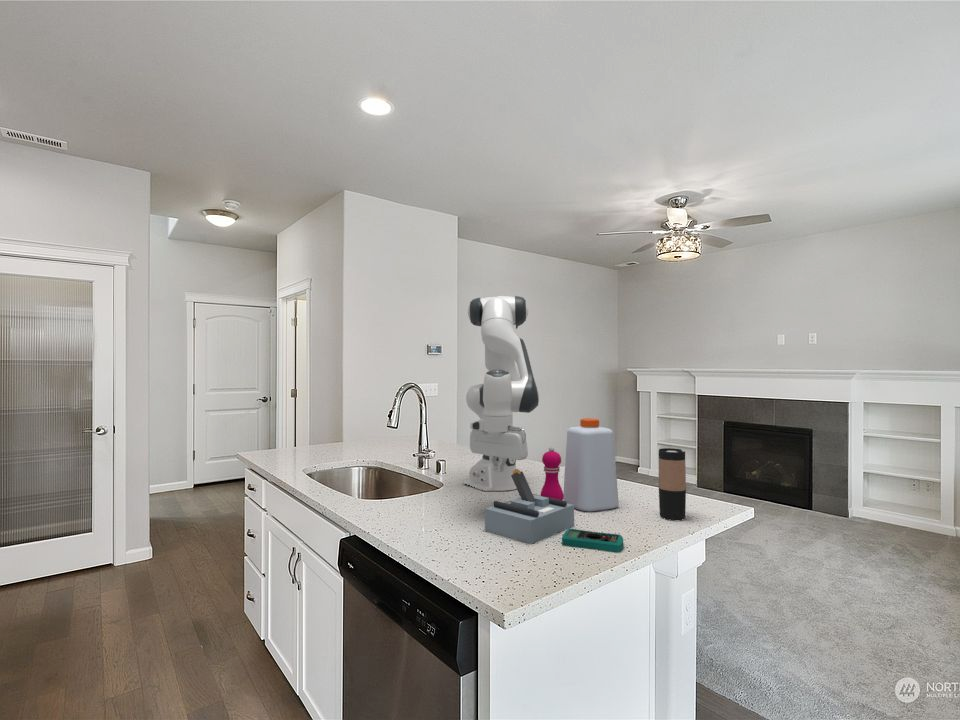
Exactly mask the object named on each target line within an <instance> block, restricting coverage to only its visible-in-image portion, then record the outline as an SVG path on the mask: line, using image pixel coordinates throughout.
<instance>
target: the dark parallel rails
mask: <svg viewBox="0 0 960 720" xmlns="http://www.w3.org/2000/svg"><path fill="white" fill-rule="evenodd" d="M532 494H533V495H537V496H541V494H540V495H539V494H534V493H532ZM542 497H544V496H542ZM547 498H549V497H547ZM549 503H550V504H554V505H559V506H563V507H565V506H566V505H567V502H566V501H564V500H559V499H554V498H549ZM492 506H495V507H498V508H502V509H506V510H510V511H514V512H518V513H522V514H526V515H530V516H534V517H538V516H539V512H538V511H536V510H532V509H528V508H524V507H520V506H515V505H511V504H507V503H505V502H502V501H497V500H494V501H493V503H492Z"/></svg>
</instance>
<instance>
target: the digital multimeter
mask: <svg viewBox="0 0 960 720" xmlns="http://www.w3.org/2000/svg"><path fill="white" fill-rule="evenodd" d="M561 537H562V538H561V545H562V546H563V547H564V546H566V547H573V548H574V547H575V548H581V549H582V548H583V549H589V550H590V549H591V550H596V549H597V551H603V550H604V551H603V552H610V551H611V552H610V553H617V552H619V553H620V552H622V550H624V537H623V536H622V535H621V534H617V533H610V532H609V533H607V532H601V531H599V532H597V531H592V530H591V531H590V530H583V529H578V528H577V529H574V528H568V529H566V530H565V532H564V533H563V534H562V536H561Z"/></svg>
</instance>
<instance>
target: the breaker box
mask: <svg viewBox="0 0 960 720" xmlns="http://www.w3.org/2000/svg"><path fill="white" fill-rule="evenodd" d="M537 495H538V494H535V495H533V496H534V498H535V500H536V501H535V502H536V503H535V505H534V503H533V502H529V501H524V500H522V499H521V497H518V498H515V499H512V500H509V501H506V502H504V503H507V504H511V505H515V506H520V507H524V508H528V509H532V510H536V511H538V512H539V516H538V517H534V516H530V515H526V514H522V513H518V512H514V511H510V510H506V509H502V508H498V507H495V506H494V505H492V506H489V507H487V508H484V531H485V530H486V532H489V533H492V532H493V533H492V534H495V533H496V535H499V536H503V537H506V538H509V539H511V540H512V539H513V540H515V541H519V542H523V543H525V544H529V545H532V544H535V543H537V542H539V541H541V540H544V539H547V538H550V537H552V536H554V535H556V534H559V533H561V532H562V531H567V530H568V529H571V528H572V527H575V508H574V505H573V504H569V503H567V505H566V506H565V507H563V506H559V505H554V504H550V503H549V498H547V497H542V496H541V495H540V496H537Z"/></svg>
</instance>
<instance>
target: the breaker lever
mask: <svg viewBox="0 0 960 720" xmlns="http://www.w3.org/2000/svg"><path fill="white" fill-rule="evenodd" d="M512 474H513V475H511V477H512V479H513V481H514V483H515V486H516V488H517V489H516V490H517V492H518V494H519V498H521V499H522V500H524V501H529V502H533V503H534V505H535V503H536V502H535V501H536V500H535V498H534V496H533V494H534V493H533V492H532V490H531V487H530V485H529V483H528V481H527V478H526V477H525V474H524V472H523V471H522V470H520V469H518V468H516V469H515V470H513V473H512Z"/></svg>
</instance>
